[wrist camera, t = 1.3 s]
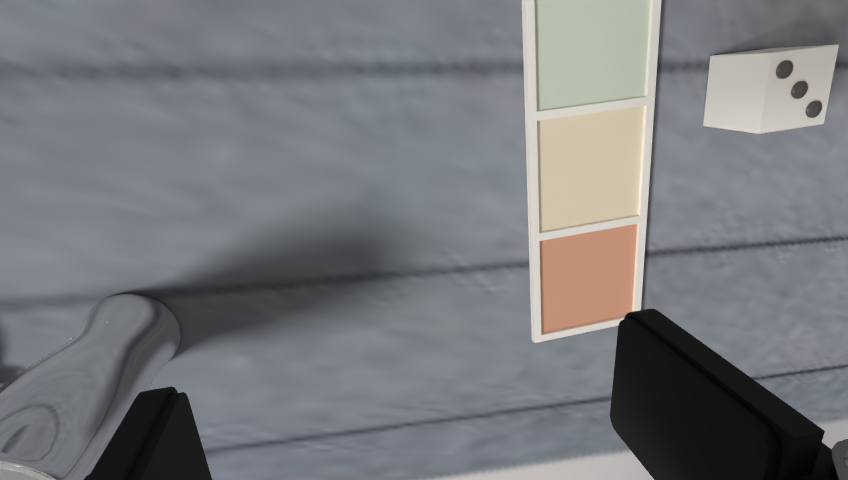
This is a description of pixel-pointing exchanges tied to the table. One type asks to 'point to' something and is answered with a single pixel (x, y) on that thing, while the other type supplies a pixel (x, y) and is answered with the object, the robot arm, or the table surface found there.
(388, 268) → the table surface
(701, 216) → the table surface
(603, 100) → the board
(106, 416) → the beer glass
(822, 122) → the die
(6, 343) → the table surface
